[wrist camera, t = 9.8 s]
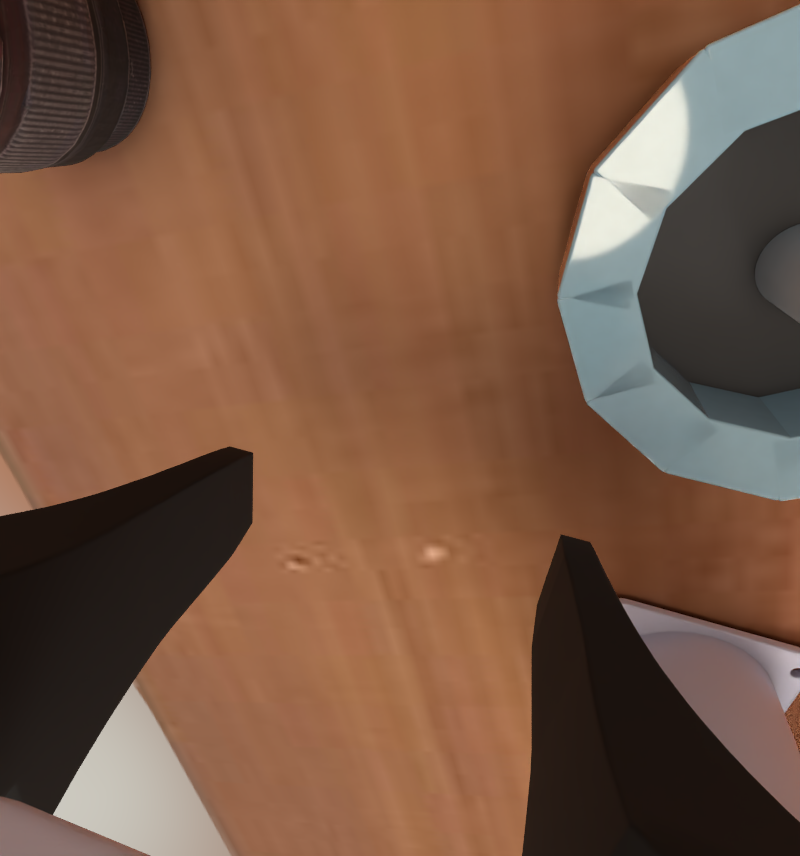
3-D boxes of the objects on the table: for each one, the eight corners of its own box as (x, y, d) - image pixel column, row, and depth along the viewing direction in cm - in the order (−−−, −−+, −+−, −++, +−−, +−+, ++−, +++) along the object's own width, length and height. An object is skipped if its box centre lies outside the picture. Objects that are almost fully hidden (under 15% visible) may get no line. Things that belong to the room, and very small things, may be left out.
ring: (893, 488, 18) (949, 544, 15) (524, 400, 20) (517, 437, 17) (1196, 42, 12) (1365, 12, 10) (638, -18, 14) (654, -57, 12)
